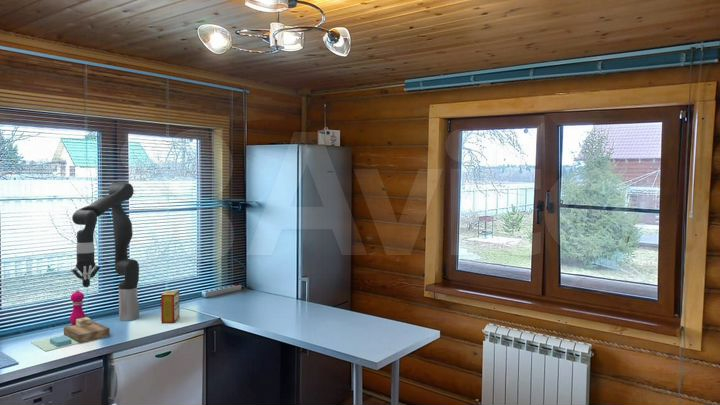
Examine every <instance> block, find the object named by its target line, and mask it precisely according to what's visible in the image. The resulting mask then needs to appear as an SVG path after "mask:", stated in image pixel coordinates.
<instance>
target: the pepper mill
mask: <svg viewBox="0 0 720 405" xmlns="http://www.w3.org/2000/svg"><path fill="white" fill-rule="evenodd" d="M84 299H85V295H84V293H83V292H81V291H80V289H79V288H77V289H75V290H74V292H73V293H72V294H71V295H70V301H71V305H72V312H71V315H70V316H69V321H70V323H71V325H70V326H73V325H76V319H79V318H84V317H87V316H86V314H85V312H84V310H83V304H84V301H83V300H84Z"/></svg>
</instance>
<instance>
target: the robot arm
mask: <svg viewBox="0 0 720 405" xmlns="http://www.w3.org/2000/svg"><path fill="white" fill-rule="evenodd" d="M134 192H135V191H134V187H133V185H132V184H131V183H128V182H113V183H112V182H111V183H110V184H109V187H108V195H106V196H103V197H101V198H98V199H96V200H94V202H92V203H91V204H89V205H86V206H83V207H81V208H79V209H77V210H75V211H74V212H73V214H72V217H71V218H72V222H73V223H74V224H75V225H79V226H84V228H83V229H79V230H77V232H76V264H75V267H74V268H71V270H70V272H71V273H72V274H73V275H75V277H76V278H77V279H80V280H82V281H81V283H82V287H84V288H89V287H90V285H91V279H93V278H94V277H95V276H96V275H97V273H98V272H99V270H100V269H101V266H100V265H99V266H98V265H97V264H96V261H95V244H94V242H95V241H94V236H95V235H94V234H95V233H94V232H95V230H96V229H95V228H96V226H97V222H98V217H100V216H102V215H103V214H105V213H106V212H107V211H108V210H110V209H111V215H112V226H113V237H114V270H115V272H116V274H118V275H119V276H124V280H123V281H122V282H119V283H118V308H119V309H118V318H119V319H118V320H119V321H121V322H128V321H133V320H136V319H139V318H140V300H138V284H139V281H140V264H139V262H138V261H137V259H133V258H129V257H128V247H129V245H130V243H131V241H132V238H133V235H134V234H133V223H132V221H131V218H129V215H128V214H127V213H126V212H125V210H124V208H123V205H122V202H125V201H128V200H129V199H131V198H132V197H133V196H134ZM79 272H80V273H79Z"/></svg>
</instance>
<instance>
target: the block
mask: <svg viewBox="0 0 720 405" xmlns="http://www.w3.org/2000/svg"><path fill="white" fill-rule="evenodd" d="M91 322H92V319H91V318H89V317H87V316H86V317H84V318H79V319H76V325H77V326H79V327H83V326H88V325H91Z"/></svg>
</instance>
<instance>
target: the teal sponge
mask: <svg viewBox="0 0 720 405" xmlns="http://www.w3.org/2000/svg"><path fill="white" fill-rule="evenodd" d="M62 335H63V336H61V335H58V336H59V337H56V336H53V337H54V338H52V337H49V338H50V343H51V344H53V345H55V346H56V347H60V346H64V345H68V344H72V341H71V339H70V338H68V337H66V336H64V334H62Z"/></svg>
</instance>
